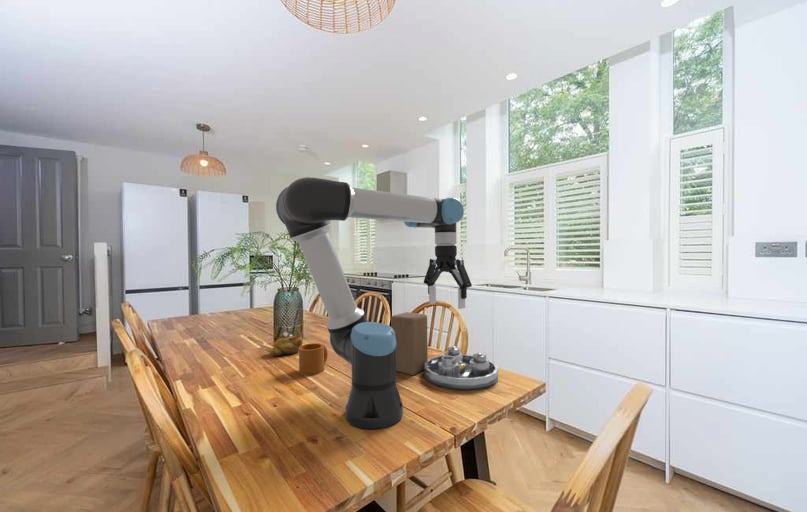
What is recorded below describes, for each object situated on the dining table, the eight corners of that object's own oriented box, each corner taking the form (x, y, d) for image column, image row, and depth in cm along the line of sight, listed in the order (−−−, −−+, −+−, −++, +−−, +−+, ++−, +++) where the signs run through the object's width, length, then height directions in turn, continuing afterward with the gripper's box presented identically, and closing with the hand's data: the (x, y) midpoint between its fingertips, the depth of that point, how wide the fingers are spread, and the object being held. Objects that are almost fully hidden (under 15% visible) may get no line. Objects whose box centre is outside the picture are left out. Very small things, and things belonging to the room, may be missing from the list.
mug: (336, 368, 124) (336, 344, 124) (307, 377, 116) (307, 352, 115) (322, 362, 131) (322, 339, 130) (294, 371, 122) (294, 346, 121)
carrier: (468, 397, 98) (467, 370, 98) (409, 375, 116) (409, 352, 116) (512, 375, 115) (512, 352, 115) (454, 358, 133) (454, 338, 133)
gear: (450, 381, 107) (450, 362, 106) (434, 375, 112) (434, 357, 112) (463, 375, 111) (463, 358, 111) (447, 370, 116) (447, 353, 116)
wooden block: (413, 376, 115) (412, 318, 115) (390, 370, 121) (389, 315, 121) (428, 368, 123) (428, 314, 123) (407, 363, 129) (406, 311, 129)
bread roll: (273, 359, 136) (273, 339, 136) (267, 353, 144) (267, 335, 143) (304, 353, 143) (304, 334, 143) (297, 348, 151) (297, 330, 151)
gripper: (481, 244, 109) (482, 308, 110) (428, 245, 128) (428, 300, 129) (467, 244, 105) (468, 311, 105) (413, 245, 124) (414, 303, 124)
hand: (446, 306), depth 117 cm, fingers open, 13 cm apart
